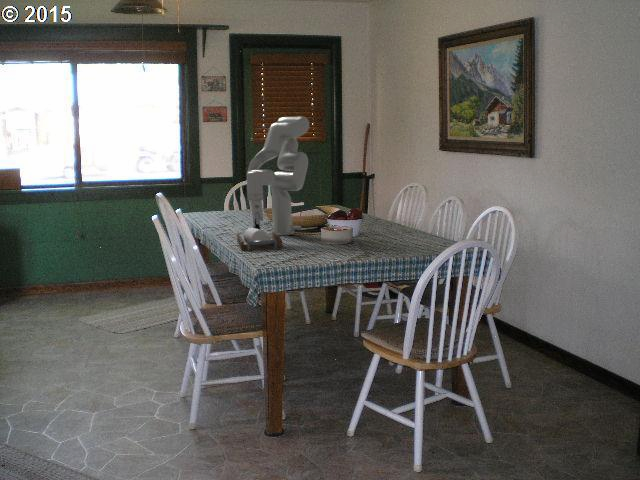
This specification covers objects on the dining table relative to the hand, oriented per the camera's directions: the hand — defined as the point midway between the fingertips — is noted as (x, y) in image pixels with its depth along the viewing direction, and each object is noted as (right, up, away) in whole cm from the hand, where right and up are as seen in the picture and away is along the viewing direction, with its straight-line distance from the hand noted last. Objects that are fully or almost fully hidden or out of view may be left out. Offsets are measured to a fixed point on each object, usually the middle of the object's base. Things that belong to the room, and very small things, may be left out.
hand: (256, 235), depth 371 cm
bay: (+2, -5, -13) cm, 14 cm away
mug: (+2, -5, -12) cm, 14 cm away
